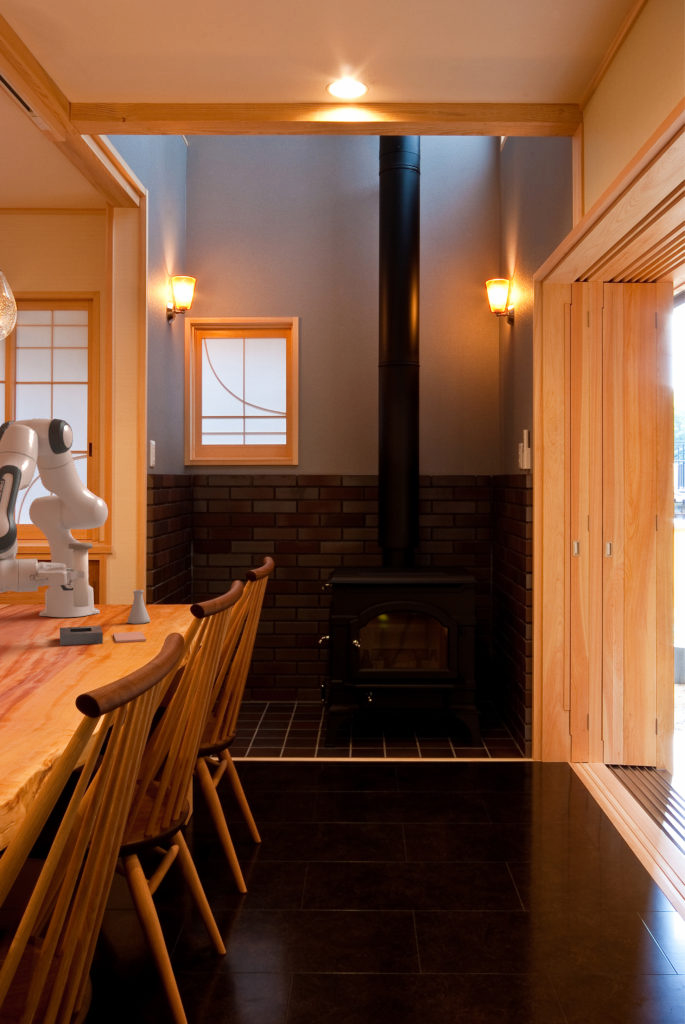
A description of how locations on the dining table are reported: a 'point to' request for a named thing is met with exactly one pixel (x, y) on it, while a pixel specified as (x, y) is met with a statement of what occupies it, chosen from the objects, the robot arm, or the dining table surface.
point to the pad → (129, 637)
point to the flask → (138, 609)
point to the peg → (80, 565)
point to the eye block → (81, 635)
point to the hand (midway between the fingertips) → (84, 573)
